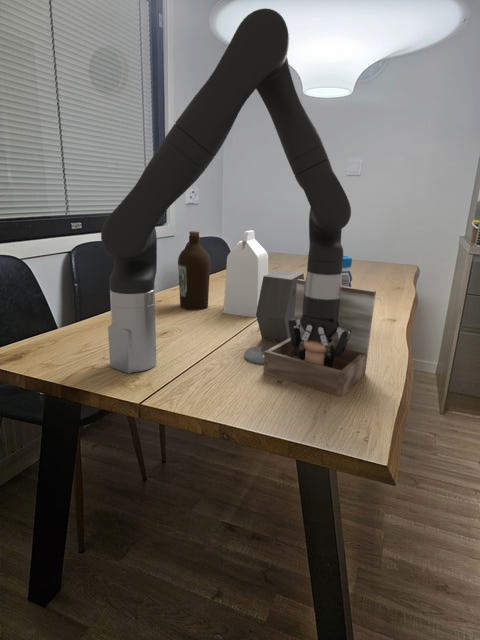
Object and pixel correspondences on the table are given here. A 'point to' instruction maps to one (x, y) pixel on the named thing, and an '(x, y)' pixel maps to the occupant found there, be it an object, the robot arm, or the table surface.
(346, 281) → the beverage bottle
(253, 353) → the saucer
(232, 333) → the table surface
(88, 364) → the table surface
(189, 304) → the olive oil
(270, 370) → the hinged wooden box
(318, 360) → the round cabinet knob
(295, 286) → the planter
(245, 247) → the milk
